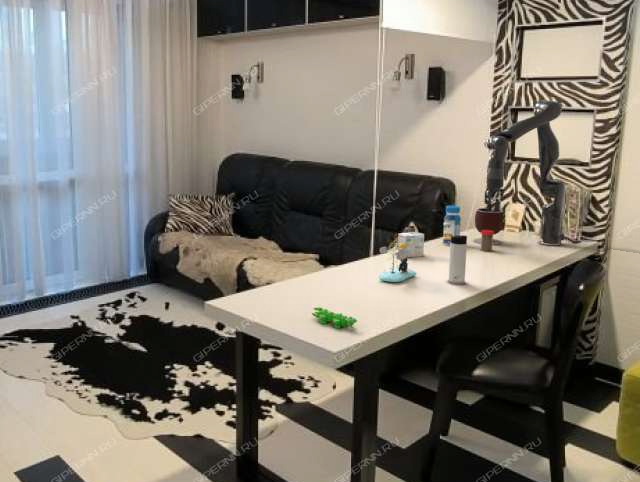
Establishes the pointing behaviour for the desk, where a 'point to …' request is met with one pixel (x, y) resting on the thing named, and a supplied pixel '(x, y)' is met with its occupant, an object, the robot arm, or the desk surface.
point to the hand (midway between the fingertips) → (493, 210)
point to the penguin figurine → (402, 270)
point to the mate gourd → (489, 221)
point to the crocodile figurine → (334, 318)
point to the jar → (486, 242)
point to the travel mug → (457, 259)
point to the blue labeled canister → (451, 223)
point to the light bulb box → (412, 243)
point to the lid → (487, 232)
